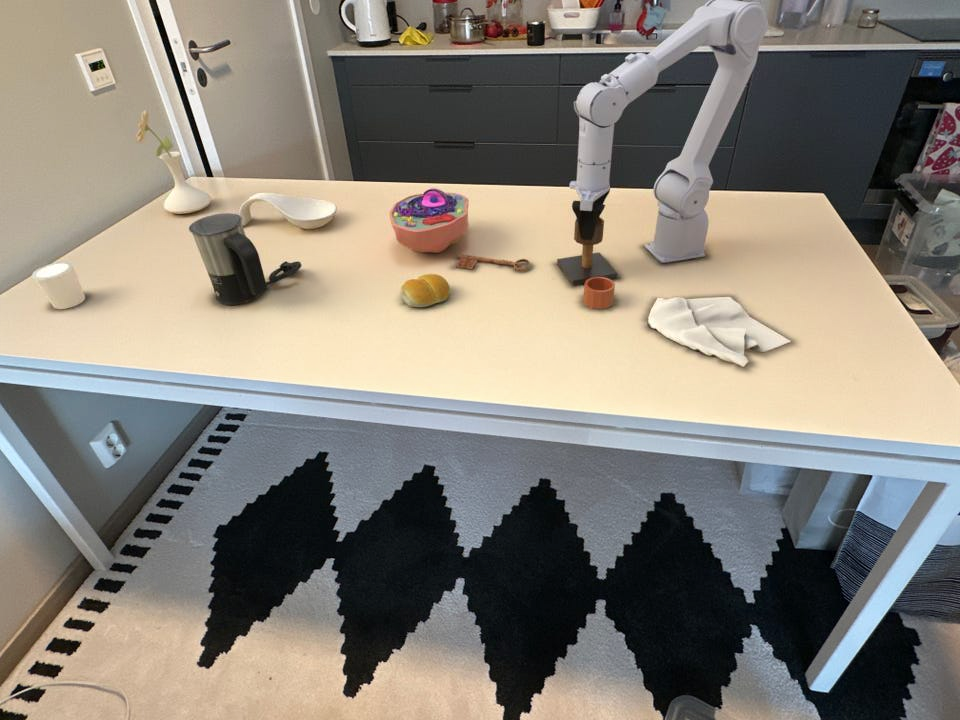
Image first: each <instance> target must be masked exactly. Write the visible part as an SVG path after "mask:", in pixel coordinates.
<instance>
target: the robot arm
mask: <svg viewBox="0 0 960 720" xmlns="http://www.w3.org/2000/svg"><path fill="white" fill-rule="evenodd" d="M769 27H770V23H769V21H768V17H767V14H766V10H765V8H764V6H763V4H761V3H759V2H758V1H744V0H743V1H742V0H708V1H707V2H706V3H704V5H702V6H700V7H698V8H696V10H695V11H694V13H693V15H692V17H690V18H689V19H688V20H687V21H686V22H685V23H684V24H682V25H681V26H680V27H678V28H677V29H676V30H675V31H674V32H672V33H671V34H670V35H669V36H668V37H667V38H665V39H664V40H663V41H661V43H660V44H658V45H657V46H656V47H655V48H654V49H652V50H651V51H650V52H648V53H647V54H646V53H643V52H637V53H635V54H634V53H629V54H627V56H625V58H624V62H623V63H622V64H620V65H619V66H618V67H616V68H615V69H613V70H612V71H611V72H609V73H608V74H607V73H605V74H603V75H602V76H600V80H599V81H598V82H597V81H594V82H589V83H586V84H585V85H584V86H583V87H582V88H581V89H580V91H579V93H578V95H577V97H576V100H575V101H573V109H574V111H575V113H576V115H577V116H578V119H579V122H578V126H579V128H578V129H579V131H578V147H577V164H576V180H572V181H570V182H569V189H571V190H575V192H576V194H577V195H578V197H579V200H573V201H572V204H571V208H572V211H573V213H574V215H575V217H576V219H577V221H578V226H579V232H580V237H581V239H584V240H592V239H593V236H594V233H595V229H596V225H597V221H598V218H599V217H600V218H601V214H602V213H603V212H604V209H605V207H606V204H604V203H605V201H606V199H607V197H608V196H609V194H610V192H611V184H610V176H611V165H612V154H613V143H614V132H615V123H617V122H618V121H619V119H620V118H621V117H622V114H623V112H624V110H625V108H627V107H628V106H629V104H630V103H632V102H634V100H636V99H638V98H639V97H640V96H642V95H643V94H644V93H646V92H647V91H648V90H651V88H652V87H654V86H655V85H656V84H657V82H658V78H659V73H662V71H664V70H666V69H667V68H669V67H670V66H672V65H673V64H675V63H676V62H678V61H680V60H681V59H683V58H684V57H686V56H687V55H689V54H690V53H692V52H694V51H695V50H697V49H698V48H699V47H701V46H708V47H709V48H710V50H711V51H712V52H713V54H714V56H715V59H716V62H717V64H718V65H717V66H718V67H717V70H716V72H715V75H714V77H713V79H712V81H711V84H710V86H709V88H708V91H707V93H706V95H705V98H704V100H703V102H702V105H701V107H700V109H699V111H698V114H697V115H696V118H695V120H694V123H693V125H692V127H691V130H690V132H689V134H688V136H687V139H686V141H685V144H684V146H683V147H682V150H681V153H680V155H679V156H678V157H676V158H674V159H672V160H670V161H669V162H667V164H666V166H665V169H664V170H663V172H662V173H661V174H660V175H659V176H658V177H657V178H656V180H655V182H654V186H653V188H652V189H653V192H652V193H653V196H654V199H656V200H657V207H658V208H657V209H658V210H657V216H656V222H655V230H654V231H655V232H654V236H653V242H650V243H645V244H644V248H645V249H646V250H647V251H648V252H649V253H651V255H653V257H654V258H656V260H658V261H659V262H660V263H661V264H667V263H673V262H679V261H685V260H691V259H698V258H704V257H705V256H706V254H705V252H704V249H705V245H706V240H707V235H708V231H709V230H708V229H709V224H710V223H709V216H708V212H707V211H706V210H705V208H706V206H707V204H708V202H709V198H710V190H711V187H712V186H713V184H714V179H713V176H712V174H711V170H710V167H709V166H710V163H711V161H712V159H713V158H714V157H713V156H714V155H715V153H716V150H717V149H718V146H719V144H720V141H721V139H722V138H723V135H724V133H725V132H726V129H727V127H728V124H729V122H730V120H731V118H732V116H733V114H734V112H735V109H736V107H737V106H738V103H739V101H740V99H741V97H742V95H743V92H744V90H745V88H746V86H747V84H748V82H749V79H750V77H751V75H752V73H753V71H754V69H755V66H756V64H757V60H758V55H759V49H760V46H761V44H762V42H763V39H764V37H765V35H766V33H767V31H768V28H769Z"/></svg>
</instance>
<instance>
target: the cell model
mask: <svg viewBox="0 0 960 720" xmlns="http://www.w3.org/2000/svg"><path fill="white" fill-rule="evenodd" d="M469 202H470V200H469V198H468V197H466V196H465V195H463V194H460V193H457V192H444V191H443V190H442V189H439V188H435V187H433V188H432V187H431V188H429V189H427V190H425V191H424V192H423V193H418V194H417V193H416V194H412V195H409V196H407V197H405V198H403V199H401V200H400V201H398V202H395V203H394V204H393V205H392V207H391V209H390V210H389V215H388V216H389V220H390V224H391V226H392V227H391V228H392V229H393V231H394V236H395V239H396V241H397V242H398V243H399V244H400V245H402V246H404V247H405V248H407V249H410V250H412V251H414V252H417V253H433V254H436V253H437V254H438V253H441V252H444V250H446V249H447V248H449V247H450V246H452V245H453V244H455V243H457V242H458V241H460V240H461V239H462V237H464V235H466V233H467V232H468V229H469V205H470V203H469Z"/></svg>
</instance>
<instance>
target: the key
mask: <svg viewBox="0 0 960 720" xmlns="http://www.w3.org/2000/svg"><path fill="white" fill-rule="evenodd" d="M478 262H485V263H493V264H498V265H499V264H500V265H506V266H513V269H514V270H516V271H518V272H522V271H526V270H528V269H529V267H530V266H531V263H530V261H529V260H528V259H525V258H521V259H518V260H516V261H512V260H507V259H506V260H505V259H497V258H489V257H484V256H483V257H481V256H475V255H469V254H468V255H467V254H459V261H458V262H457V263H456V265H455V267H456V268H460V269H468V270H472V269H473V268H474V267H475V265H476V264H477V263H478ZM520 263H526V264H527V265H525V266H524V267H519V266H520V265H521V264H520Z"/></svg>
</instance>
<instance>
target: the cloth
mask: <svg viewBox="0 0 960 720" xmlns="http://www.w3.org/2000/svg"><path fill="white" fill-rule="evenodd" d="M647 324H648V326H649V328H650V329H656V330H657V332H658V333H660V334H661V335H663V336H664V337H666V338H667V339H669V340H671V341H674V342H676V343H677V344H679V345H681V346H685V347H688V348H689V349H690V350H693V351H696V352H700V353H702V354H704V355H705V356H708V357H713V358H717V359H720V360H722V361H724V362H726V363H731V364H737V365H739V366H741V367H743V368H744V367H745V366H746V365H747V364H748V363H749V360H748V358H747V357H746V356H745V350H752V351H756V352H760V353H765V352H769V351H771V350H774V349H776V348H780V347H782V346H784V345H786V344H789V343H791V340H790V339H788V338H786V337H785V336H783V335H782V334H780V333H778V332H776V331H774V330H773V329H772V328H769V327H768V326H766V325H764V324H762V323H761V322H759V321H758V320H756V319H754V318H752V317H750V315H749V314H748V313H747V311H745V309H744V308H743V306H742V305H741V304H740V303H739V302H737V301H736V300H734V299H733V297H732V296H724V297H723V296H720V297H699V298H685V297H679V296H675V297H674V296H673V297H672V298H666V299H665V298H663V297H657V298H656V300H655V302H654V303H653V306H652V307H651V309H650V311H649V314H648V316H647Z"/></svg>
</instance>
